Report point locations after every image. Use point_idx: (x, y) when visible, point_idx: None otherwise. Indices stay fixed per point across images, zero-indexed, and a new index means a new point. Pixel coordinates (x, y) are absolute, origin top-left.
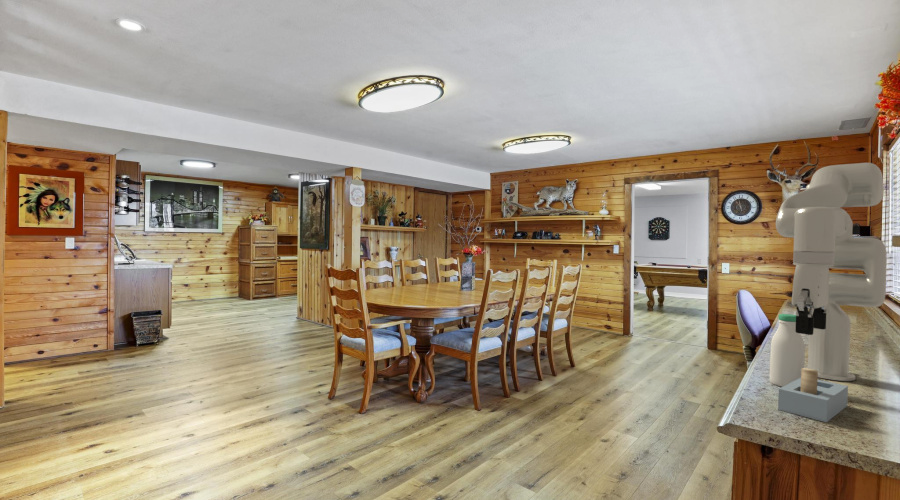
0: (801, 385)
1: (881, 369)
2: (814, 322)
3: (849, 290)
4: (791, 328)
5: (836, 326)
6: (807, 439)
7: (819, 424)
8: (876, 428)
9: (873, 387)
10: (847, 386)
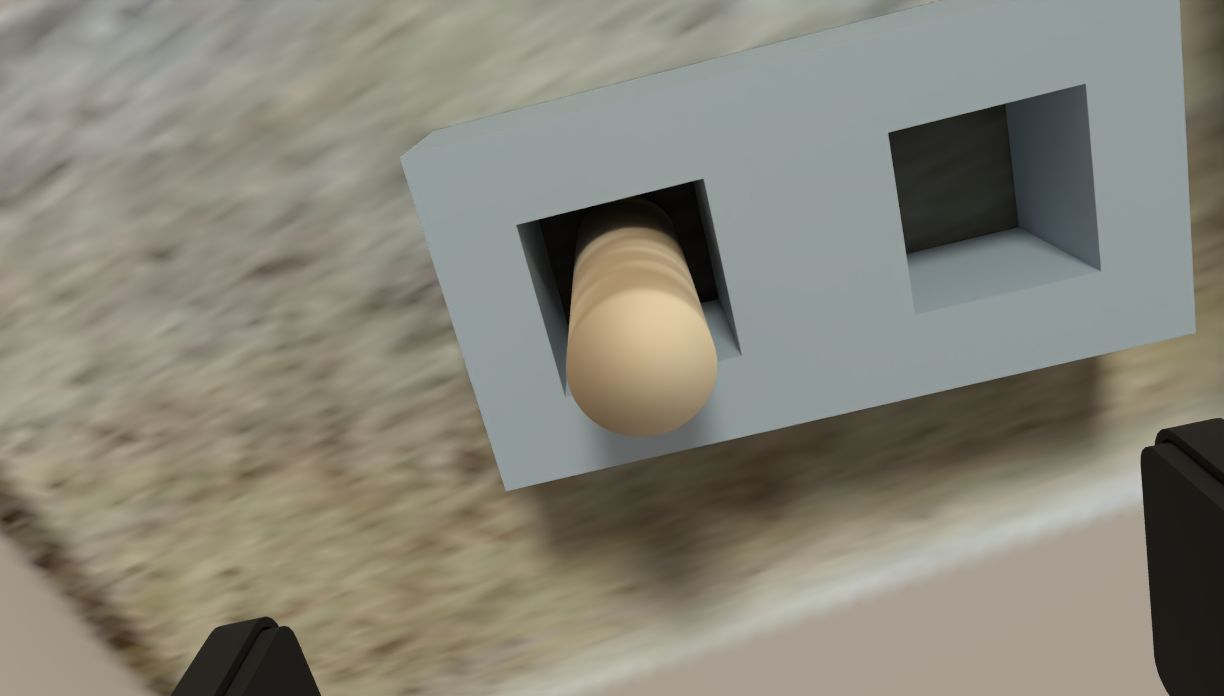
0: (582, 272)
1: None
2: (1219, 604)
3: None
4: None
5: None
6: (90, 524)
7: (435, 417)
8: (739, 571)
9: None
10: (1171, 338)
